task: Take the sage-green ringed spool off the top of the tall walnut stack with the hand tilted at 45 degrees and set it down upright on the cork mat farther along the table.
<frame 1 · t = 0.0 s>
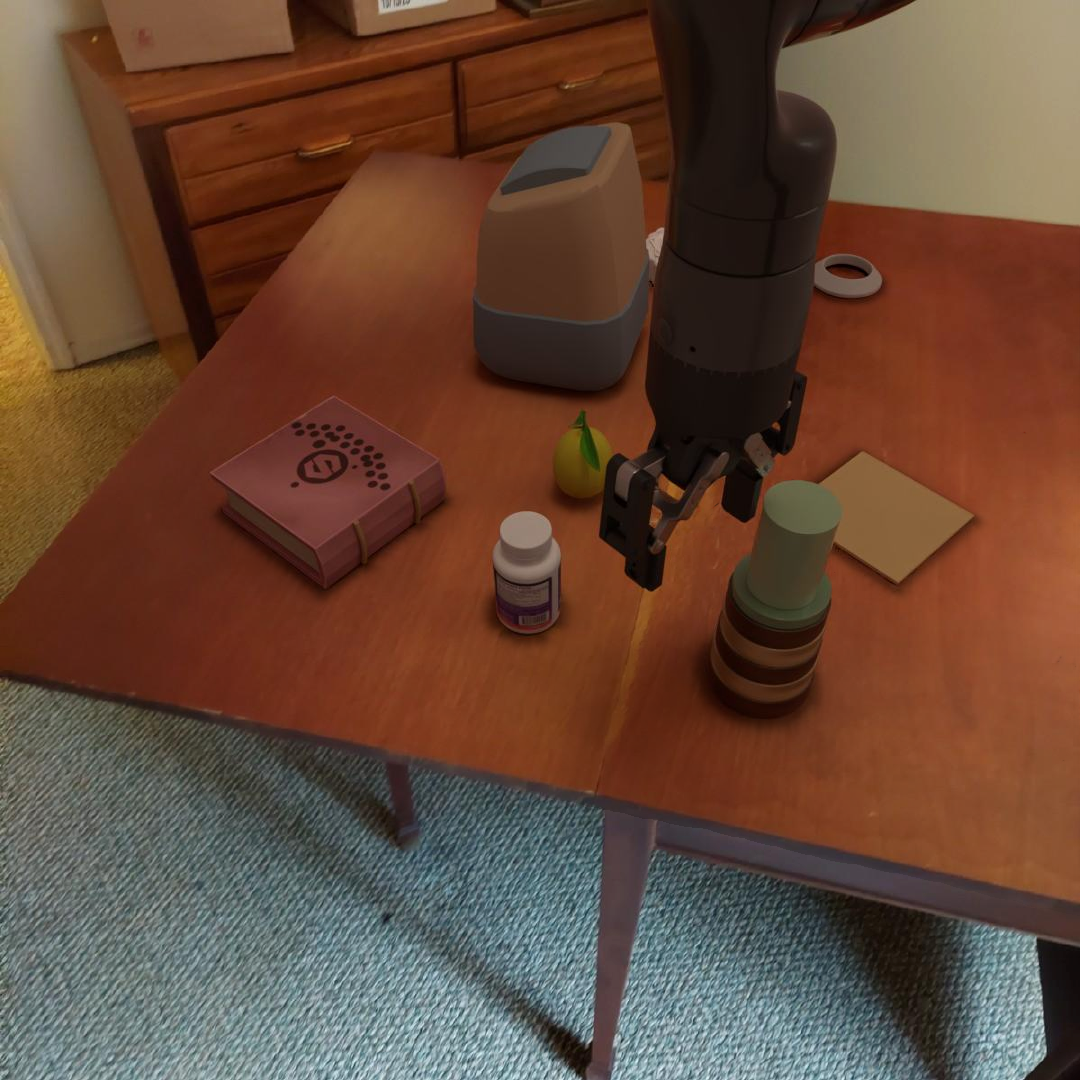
hand: (692, 546, 59), 19 cm above the table, tool pointing down, fingers open, 8 cm apart
small trash can: (562, 353, 105), on the table
stack: (757, 675, 75), on the table
book: (338, 509, 88), on the table
lemon: (583, 496, 89), on the table
mat: (878, 515, 87), on the table
ring spool: (779, 591, 68), point 10 cm above the table, touching stack
mooncake: (690, 271, 116), on the table
pill bottle: (528, 611, 80), on the table
ring: (844, 281, 115), on the table
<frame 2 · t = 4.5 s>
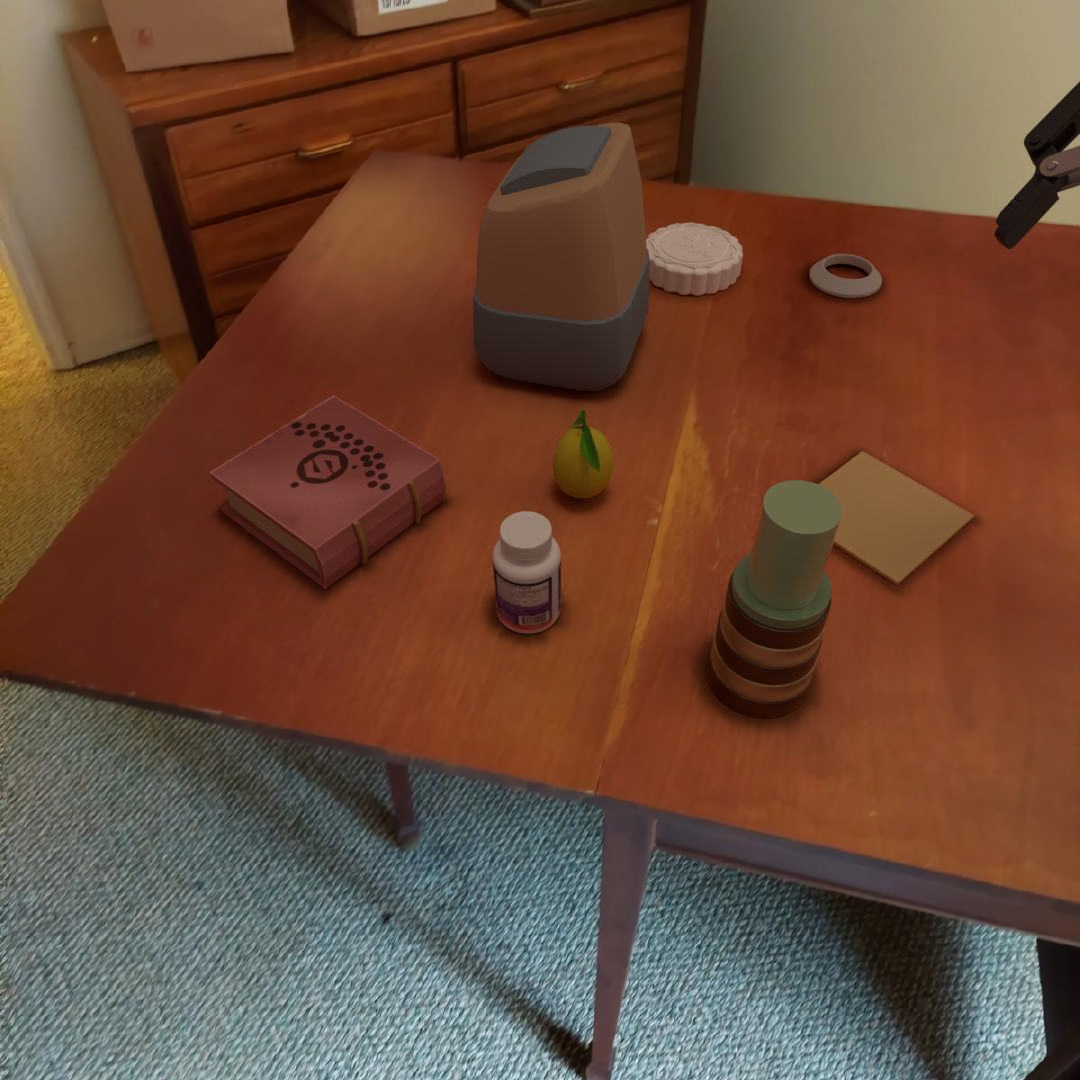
hand: (1059, 284, 54), 32 cm above the table, tool tilted 40°, fingers open, 8 cm apart
nothing on the table moved.
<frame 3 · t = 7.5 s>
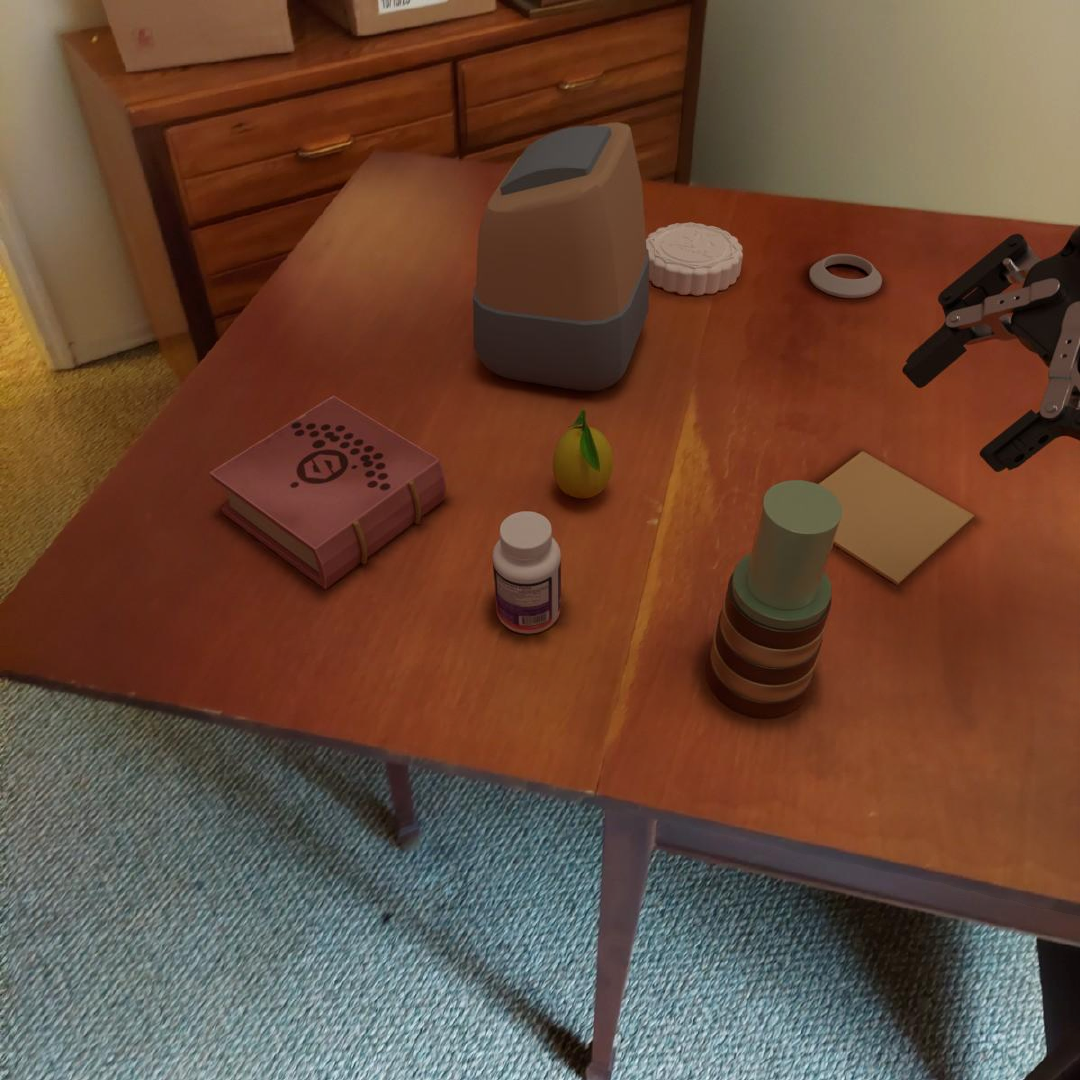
hand: (947, 420, 60), 23 cm above the table, tool tilted 45°, fingers open, 8 cm apart
nothing on the table moved.
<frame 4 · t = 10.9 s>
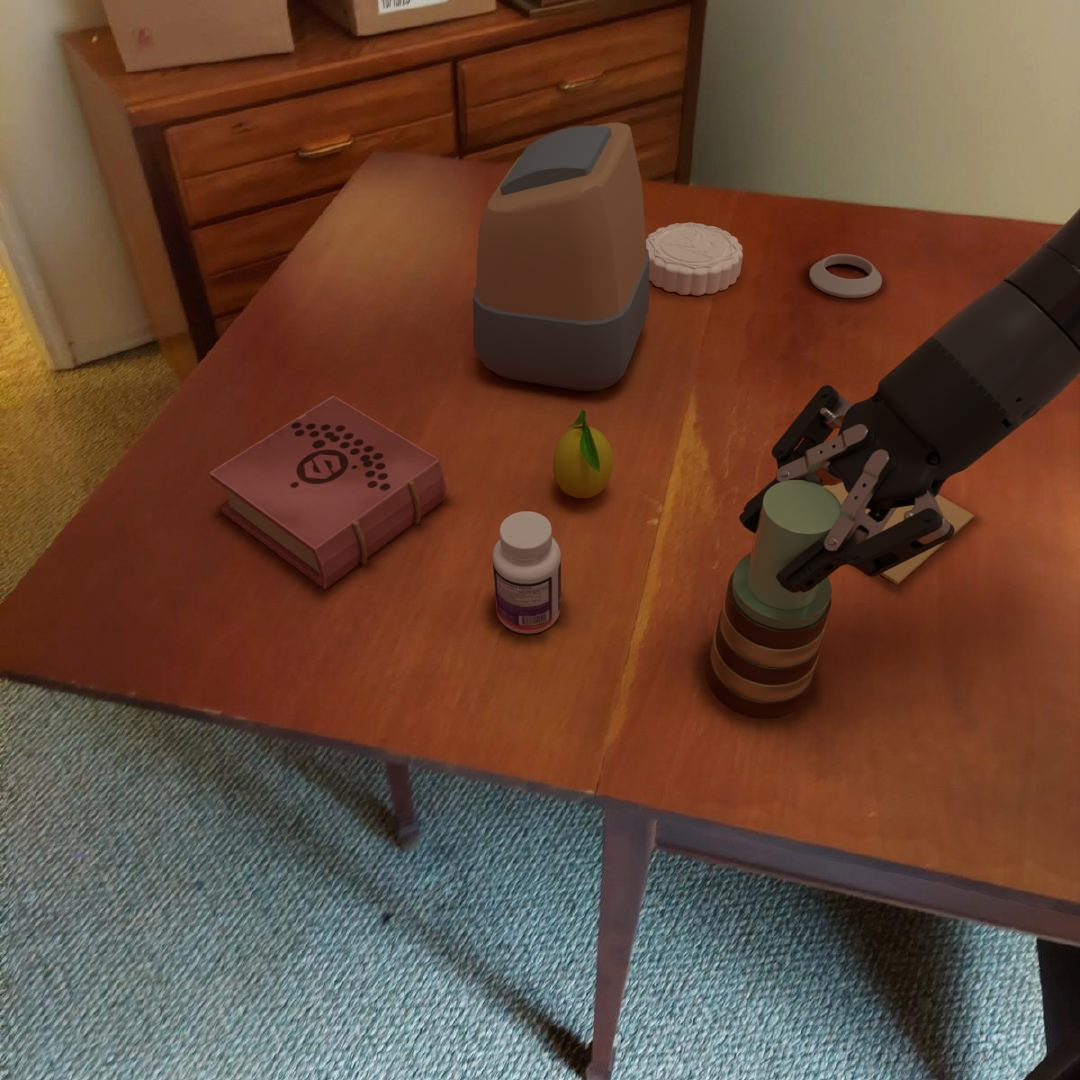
hand: (766, 554, 64), 14 cm above the table, tool tilted 45°, fingers closed on ring spool, 5 cm apart
ring spool: (779, 591, 68), point 10 cm above the table, touching gripper, stack
everything else where it was.
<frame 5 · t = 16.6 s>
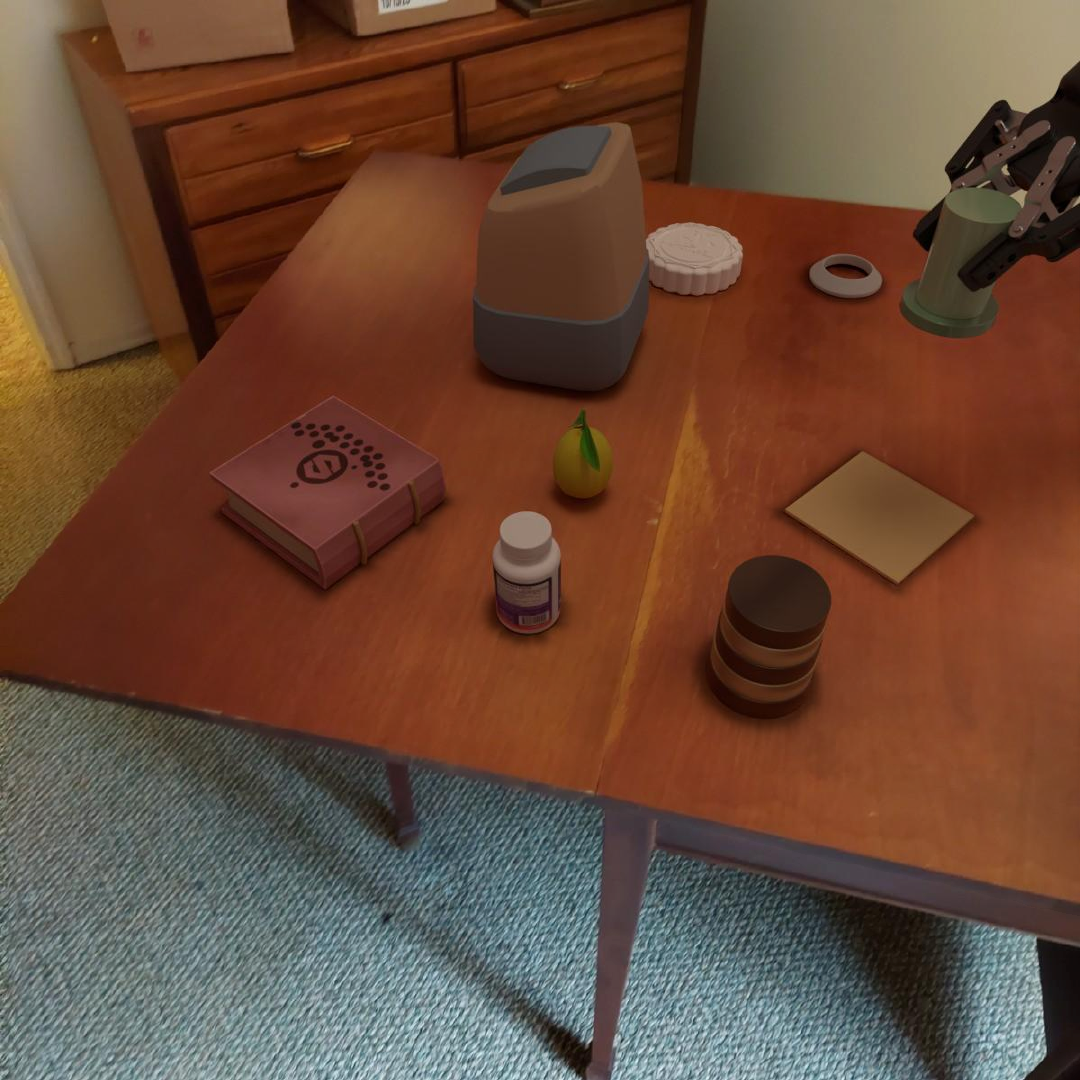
hand: (942, 262, 67), 26 cm above the table, tool tilted 45°, fingers closed on ring spool, 5 cm apart
ring spool: (946, 312, 71), point 22 cm above the table, touching gripper
everything else where it was.
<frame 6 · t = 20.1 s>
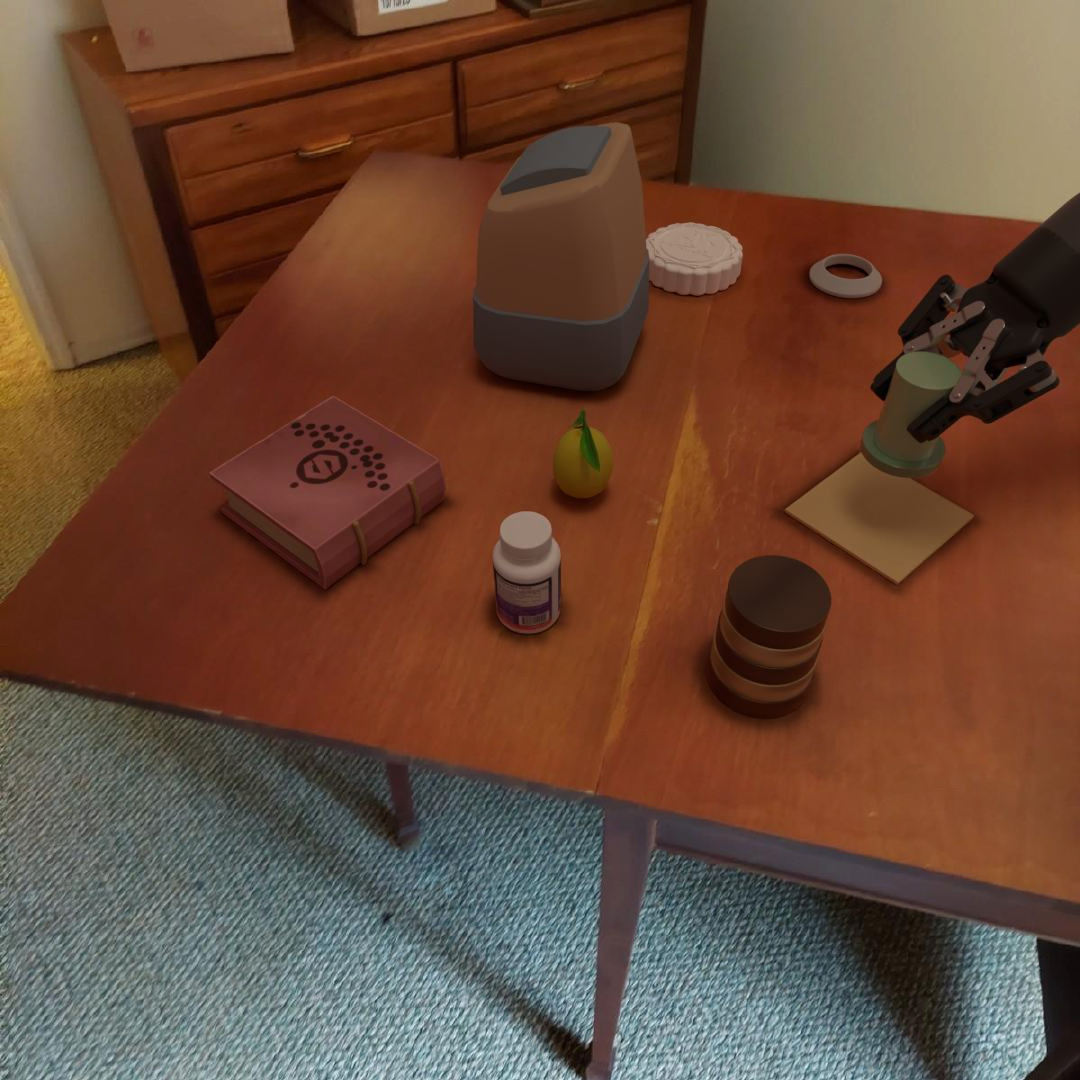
hand: (895, 414, 78), 12 cm above the table, tool tilted 45°, fingers closed on ring spool, 5 cm apart
ring spool: (900, 451, 81), point 8 cm above the table, touching gripper
everything else where it was.
when the fingers open (5 cm above the table, at t = 22.6 s): ring spool stays where it is, resting on mat.
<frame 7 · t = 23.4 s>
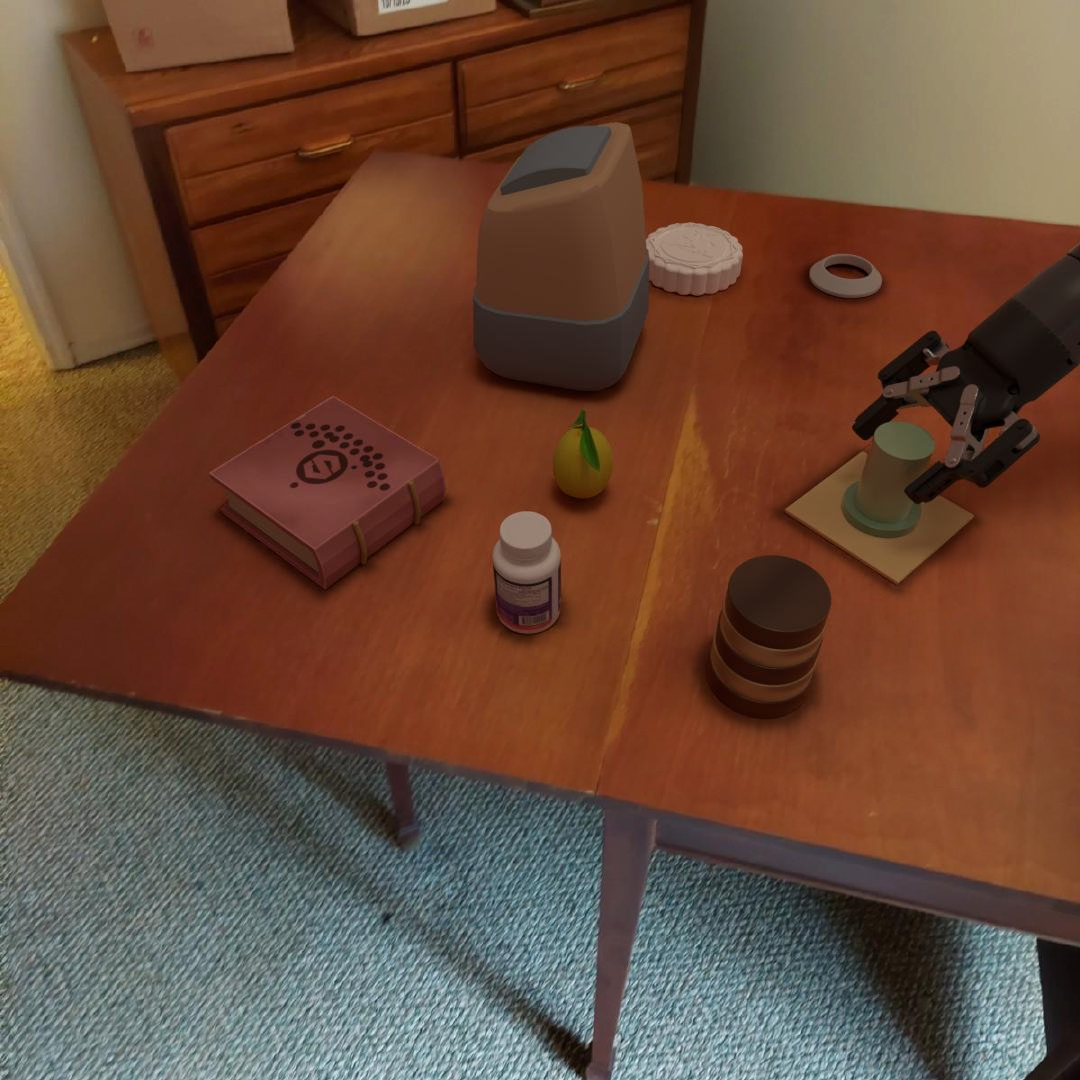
hand: (883, 465, 82), 6 cm above the table, tool tilted 45°, fingers open, 8 cm apart
ring spool: (879, 511, 87), resting on mat
everything else where it was.
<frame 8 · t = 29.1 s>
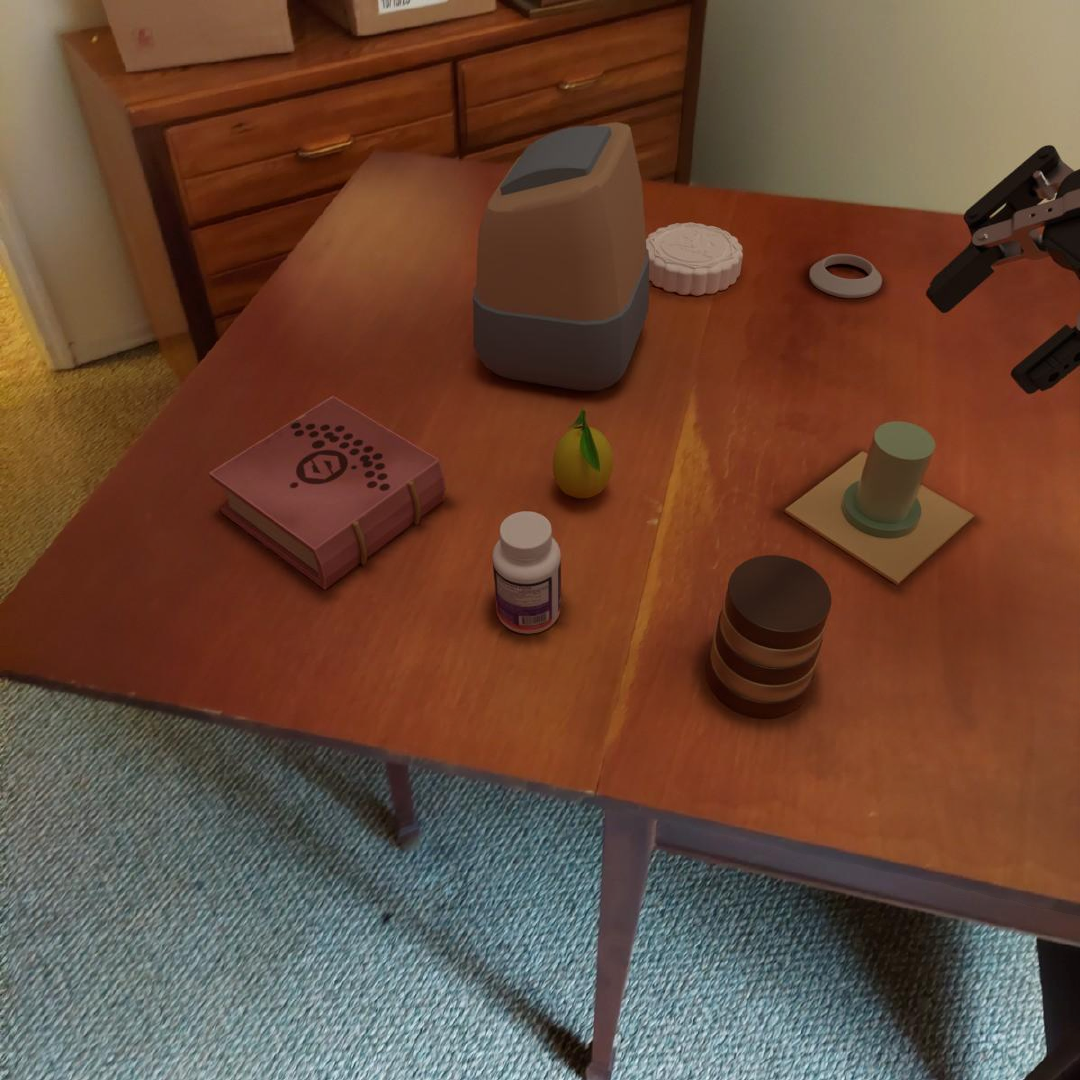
hand: (974, 342, 56), 29 cm above the table, tool tilted 45°, fingers open, 8 cm apart
nothing on the table moved.
at the end: ring spool inside the target area on the mat (0.1 cm from its centre), point 0.4 cm above the mat's base; ring spool tilted 0°; ring spool touching mat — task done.
